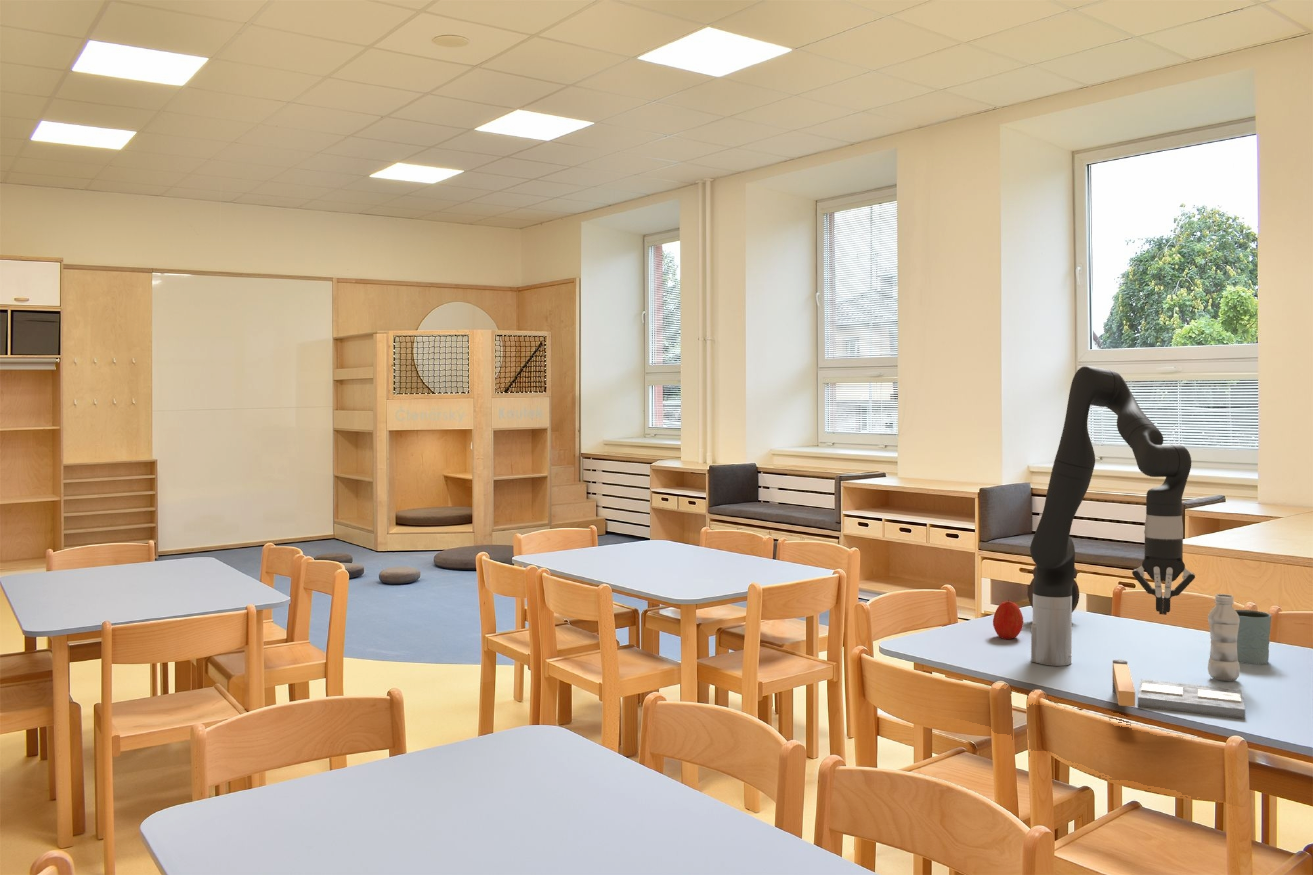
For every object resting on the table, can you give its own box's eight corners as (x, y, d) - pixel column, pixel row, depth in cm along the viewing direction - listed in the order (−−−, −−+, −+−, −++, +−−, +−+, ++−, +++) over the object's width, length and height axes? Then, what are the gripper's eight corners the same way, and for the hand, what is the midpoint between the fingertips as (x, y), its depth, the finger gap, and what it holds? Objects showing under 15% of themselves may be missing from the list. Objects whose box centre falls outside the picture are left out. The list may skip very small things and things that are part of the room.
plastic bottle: (1244, 684, 235) (1245, 598, 235) (1212, 682, 237) (1213, 597, 236) (1234, 676, 242) (1235, 593, 241) (1203, 675, 243) (1204, 592, 242)
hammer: (1112, 690, 230) (1112, 659, 229) (1126, 692, 229) (1127, 660, 228) (1118, 725, 205) (1118, 690, 204) (1134, 727, 204) (1135, 691, 203)
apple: (1028, 641, 280) (1028, 602, 279) (998, 641, 280) (998, 602, 279) (1018, 634, 288) (1018, 596, 287) (988, 634, 288) (989, 596, 288)
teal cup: (1259, 667, 251) (1260, 618, 250) (1217, 658, 259) (1217, 612, 258) (1278, 660, 257) (1278, 613, 256) (1236, 653, 265) (1236, 607, 264)
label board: (1137, 706, 219) (1138, 695, 219) (1140, 687, 233) (1141, 677, 233) (1244, 719, 210) (1245, 707, 209) (1241, 698, 224) (1241, 688, 224)
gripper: (1197, 535, 223) (1196, 613, 223) (1131, 532, 229) (1130, 608, 230) (1197, 539, 216) (1197, 620, 217) (1129, 535, 222) (1128, 614, 223)
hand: (1162, 613), depth 223 cm, fingers closed
